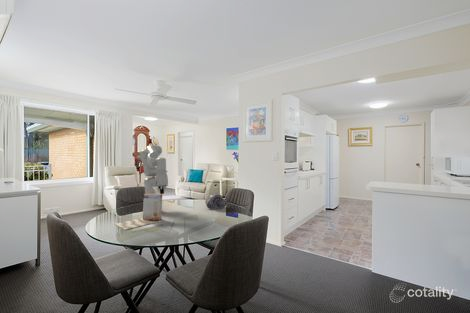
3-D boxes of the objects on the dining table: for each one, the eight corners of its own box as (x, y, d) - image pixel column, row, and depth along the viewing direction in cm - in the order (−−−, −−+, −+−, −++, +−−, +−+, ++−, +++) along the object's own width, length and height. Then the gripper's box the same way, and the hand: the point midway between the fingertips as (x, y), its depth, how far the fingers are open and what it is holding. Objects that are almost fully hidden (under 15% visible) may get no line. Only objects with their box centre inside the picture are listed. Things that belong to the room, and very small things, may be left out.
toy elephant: (223, 207, 244) (221, 192, 246) (230, 207, 228) (228, 192, 230) (205, 210, 235) (203, 195, 237) (210, 210, 220) (208, 194, 222)
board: (142, 218, 198) (142, 217, 198) (153, 223, 184) (153, 222, 184) (114, 224, 182) (114, 223, 182) (125, 230, 168) (125, 229, 168)
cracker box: (161, 218, 196) (162, 193, 197) (158, 220, 190) (159, 194, 191) (145, 218, 198) (146, 193, 198) (142, 219, 192) (143, 194, 192)
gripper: (167, 171, 208) (167, 192, 208) (151, 172, 197) (151, 194, 197) (171, 171, 203) (172, 193, 203) (155, 173, 192) (156, 195, 192)
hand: (162, 193), depth 200 cm, fingers closed
